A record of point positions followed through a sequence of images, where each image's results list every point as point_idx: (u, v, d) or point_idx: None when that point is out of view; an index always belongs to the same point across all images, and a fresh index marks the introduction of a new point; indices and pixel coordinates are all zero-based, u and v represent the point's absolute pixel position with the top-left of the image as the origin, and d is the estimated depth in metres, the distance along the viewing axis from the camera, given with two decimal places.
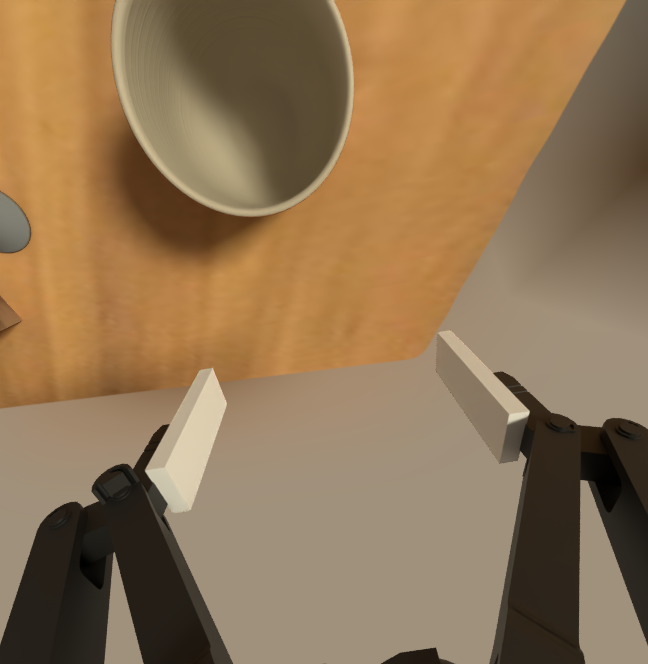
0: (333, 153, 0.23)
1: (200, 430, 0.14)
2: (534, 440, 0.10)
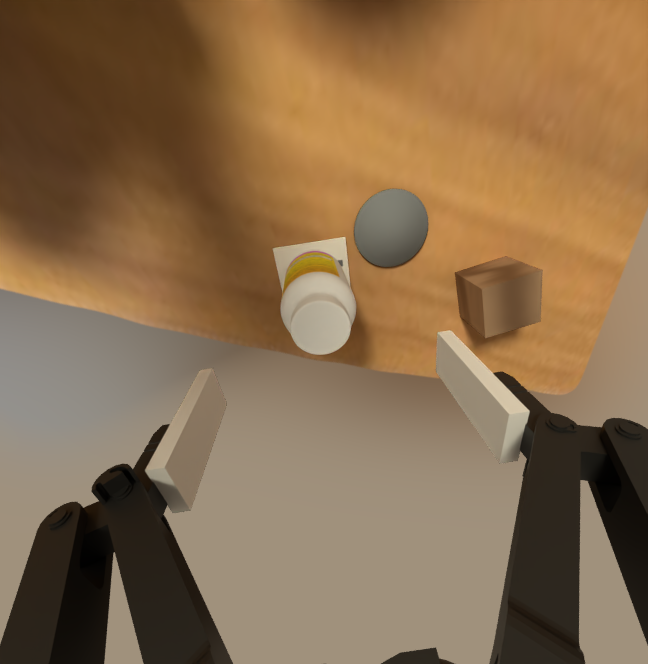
0: None
1: (200, 430, 0.14)
2: (534, 440, 0.10)
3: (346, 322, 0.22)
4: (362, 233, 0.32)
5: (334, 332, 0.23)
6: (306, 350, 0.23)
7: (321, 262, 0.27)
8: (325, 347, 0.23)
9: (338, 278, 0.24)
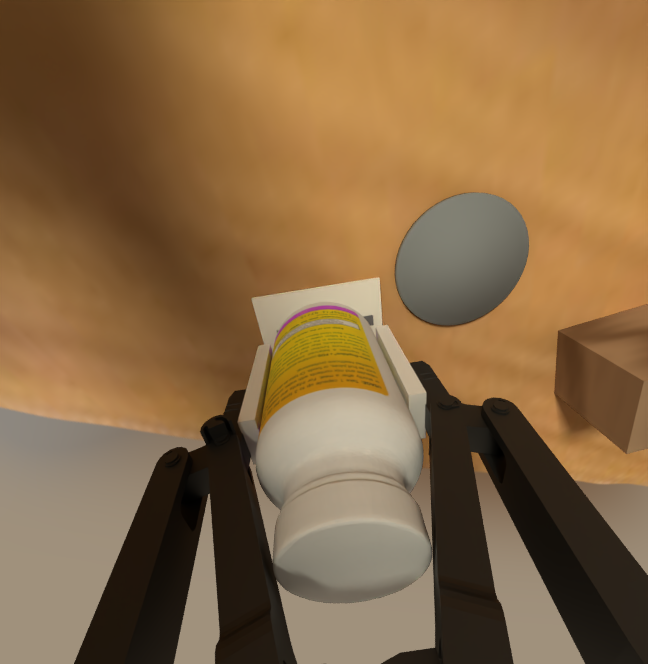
0: None
1: None
2: (431, 422, 0.11)
3: (421, 554, 0.08)
4: (410, 272, 0.18)
5: (389, 569, 0.09)
6: (315, 599, 0.09)
7: (342, 344, 0.13)
8: (362, 592, 0.09)
9: (388, 403, 0.10)
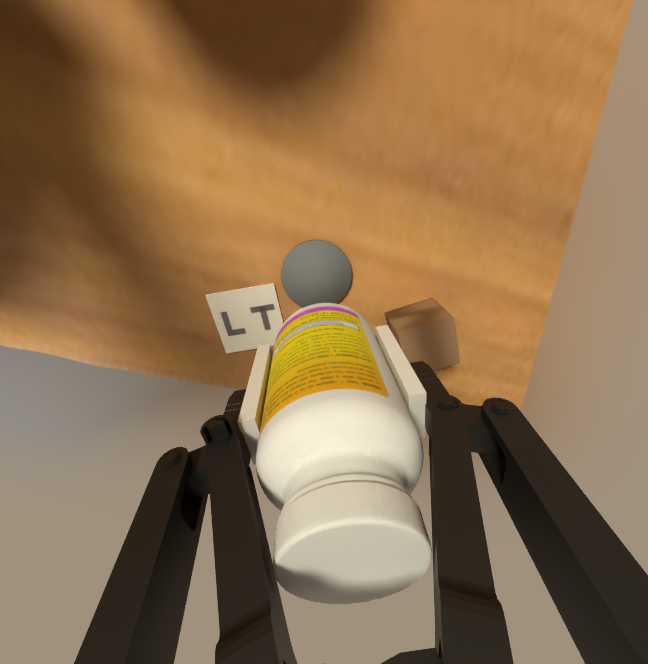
0: None
1: None
2: (431, 422, 0.11)
3: (422, 554, 0.08)
4: (289, 280, 0.33)
5: (389, 569, 0.09)
6: (315, 600, 0.09)
7: (342, 345, 0.13)
8: (362, 593, 0.09)
9: (388, 405, 0.10)
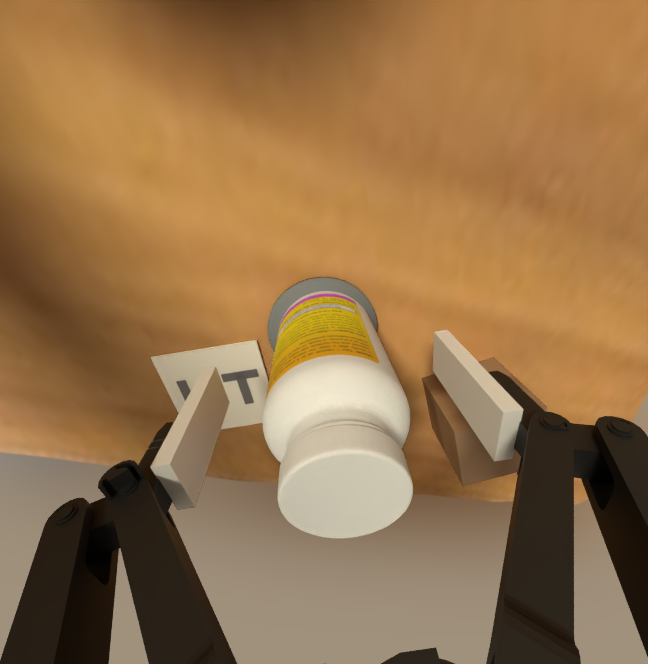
0: None
1: (204, 428, 0.14)
2: (528, 438, 0.10)
3: (404, 488, 0.10)
4: None
5: (377, 502, 0.10)
6: (313, 533, 0.11)
7: (340, 323, 0.15)
8: (354, 527, 0.11)
9: (378, 368, 0.12)
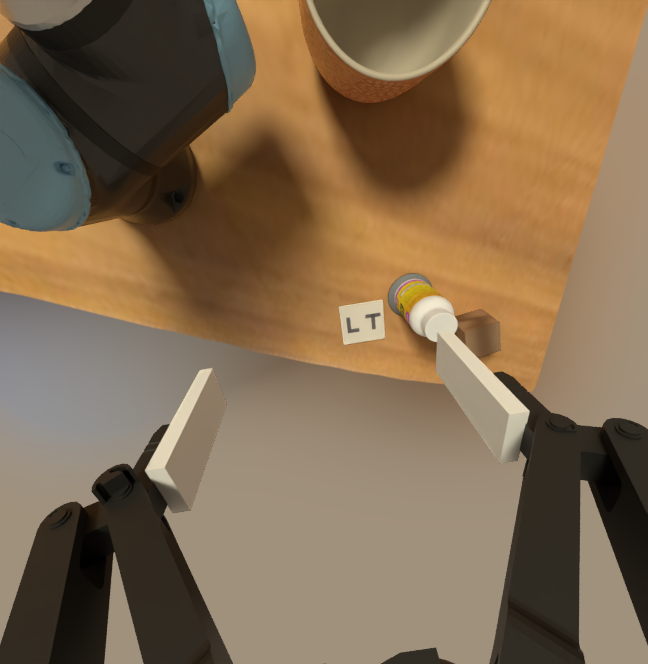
0: None
1: (200, 430, 0.14)
2: (534, 440, 0.10)
3: (455, 324, 0.41)
4: (393, 297, 0.53)
5: (448, 329, 0.41)
6: (431, 339, 0.42)
7: (429, 288, 0.46)
8: None
9: (445, 299, 0.43)
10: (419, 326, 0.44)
